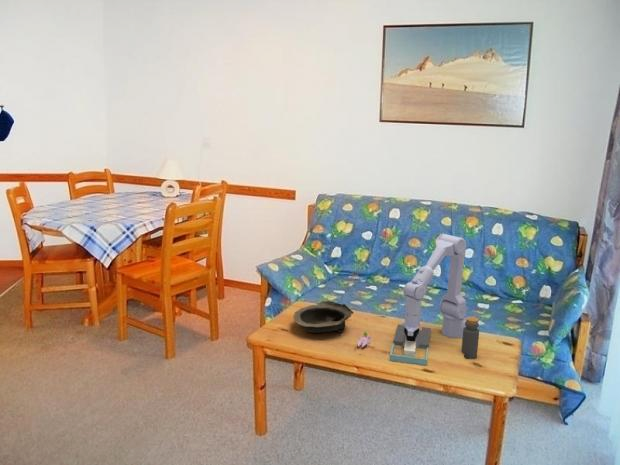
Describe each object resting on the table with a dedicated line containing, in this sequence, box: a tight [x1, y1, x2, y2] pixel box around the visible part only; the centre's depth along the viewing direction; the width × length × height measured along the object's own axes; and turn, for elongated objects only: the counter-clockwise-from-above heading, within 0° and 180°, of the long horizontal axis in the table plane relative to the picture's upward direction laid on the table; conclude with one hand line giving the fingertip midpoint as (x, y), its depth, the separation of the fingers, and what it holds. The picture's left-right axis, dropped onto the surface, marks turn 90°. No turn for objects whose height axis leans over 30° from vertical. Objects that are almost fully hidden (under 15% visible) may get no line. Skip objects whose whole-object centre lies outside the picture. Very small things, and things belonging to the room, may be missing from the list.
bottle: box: [461, 316, 480, 360], centre depth 208 cm, size 6×6×15 cm
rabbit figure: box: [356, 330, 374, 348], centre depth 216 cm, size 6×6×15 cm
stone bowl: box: [292, 300, 354, 334], centre depth 231 cm, size 25×25×9 cm
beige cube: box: [403, 345, 417, 357], centre depth 205 cm, size 4×4×4 cm
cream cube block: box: [405, 341, 416, 346], centre depth 209 cm, size 4×4×4 cm
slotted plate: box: [392, 323, 432, 350], centre depth 221 cm, size 14×18×3 cm
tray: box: [389, 343, 430, 367], centre depth 207 cm, size 14×12×2 cm
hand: (410, 346), depth 212 cm, fingers closed
